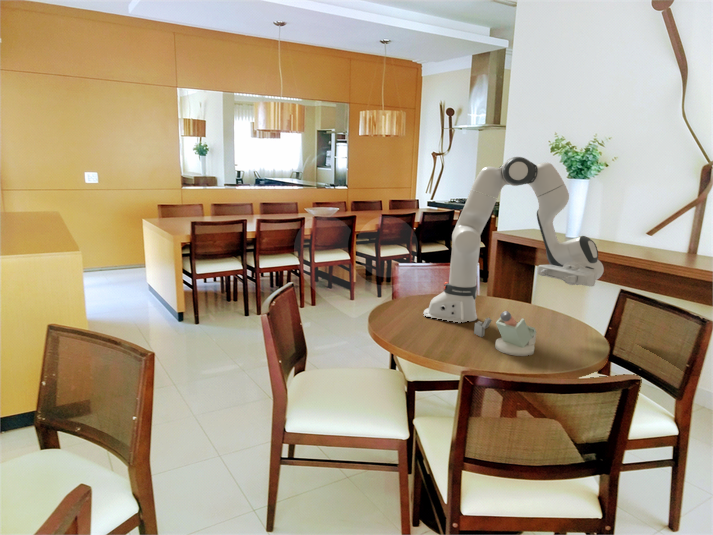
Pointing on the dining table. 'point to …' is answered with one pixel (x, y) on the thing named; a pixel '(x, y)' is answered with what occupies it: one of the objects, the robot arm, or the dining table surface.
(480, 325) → the lighter
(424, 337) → the dining table surface
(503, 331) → the green holder stand
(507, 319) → the marker
